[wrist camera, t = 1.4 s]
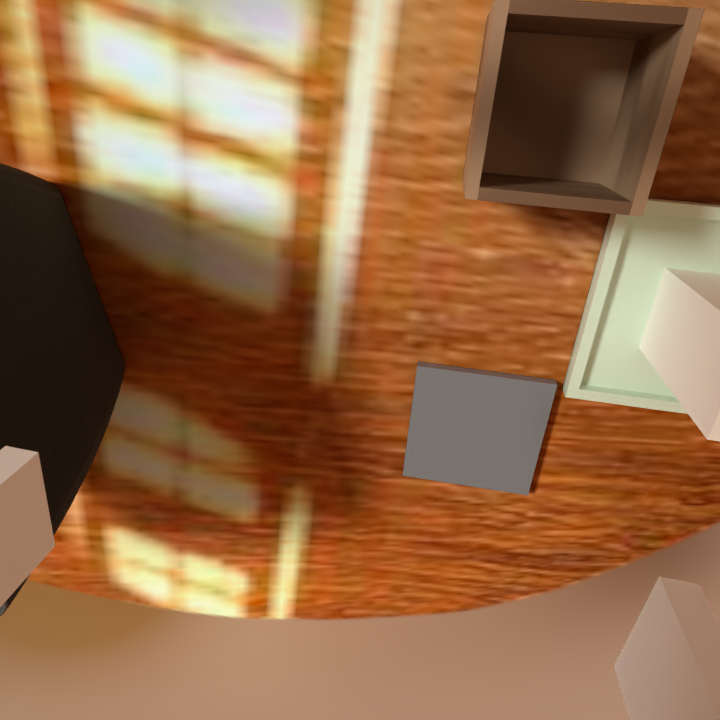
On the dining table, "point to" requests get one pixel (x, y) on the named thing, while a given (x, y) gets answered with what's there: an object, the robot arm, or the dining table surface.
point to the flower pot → (51, 341)
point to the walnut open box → (576, 102)
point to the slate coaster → (477, 427)
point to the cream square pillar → (688, 343)
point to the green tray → (637, 300)
